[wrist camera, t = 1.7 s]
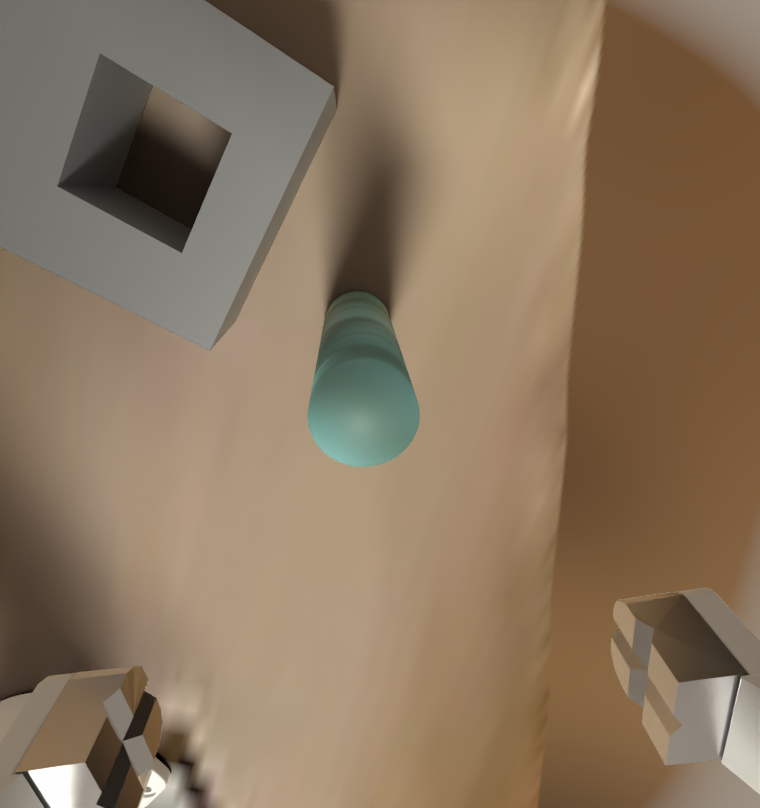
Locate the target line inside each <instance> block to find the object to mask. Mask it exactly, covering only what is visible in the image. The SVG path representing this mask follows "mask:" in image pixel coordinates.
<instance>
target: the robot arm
mask: <svg viewBox="0 0 760 808" xmlns="http://www.w3.org/2000/svg"><path fill="white" fill-rule="evenodd" d="M613 618H614V620H615V622H616V623H617V625H618V627H619V629H618V630H617V631H616V632H615V633H614V634H613V635H612V637H611V654H612V659H613V664H614V668H615V671H616V673H617V676H618V679H619V681H620V683H621V685H622V687H623V689H624V691H625V693H626V695H627V696H628V697H629V698H630V699H632V700H633V701H635V702H636V703H637V704H639V705H640V706H642V707H643V708H644V709H643V717H642V724H643V726H644V727H645V729H646V731H647V733H648V735H649V737H650V738H651V740H652V742H653V744H654V745H655V747H656V749H657V751H658V753H659V755H660V756H661V758H662V760H663V762H664V764H665V765H674V764H683V763H692V762H702V761H712V760H722V764H724V765H725V766H726V767H727V768H728V769H730V770H731V771H732V772H733V773H735V774H736V775H737V776H738V777H739V778H741V779H742V780H743V781H744V782H745V783H747V784H748V785H749V786H750V787H751V788H753V789H754V790H755V791H756V792H758V793H759V794H760V641H759V640H758V639H757V637H756V636H755V635H754V634H753V633H752V632H751V631H750V630H749V629H748V628H747V626H746V625H745V624H744V623H743V622H742V621H741V620H740V619H739V618H738V617H737V616H736V614H735V613H734V612H733V611H732V610H731V609H730V608H729V607H728V606H727V605H726V604H725V603H724V602H723V600H722V599H721V598H720V597H719V596H718V595H717V594H716V593H715V592H714V591H712V590H710V589H708V588H700V589H692V590H685V591H679V592H675V593H674V592H669V593H663V594H656V595H649V596H642V597H635V598H629V599H622V600H617V602H616V603H615V605H614V611H613ZM147 682H148V678H147V676H146V674H145V672H144V670H143V668H142V666H130V667H121V668H112V669H102V670H93V671H84V672H77V673H69V674H60V675H52V676H48V677H46V678H45V679H44V680H42V681H41V682H40V683H39V684H38V685H37V686H36V688H35V689H34V691H33V692H32V693H27V694H22V695H17V696H14V697H10V698H8V699H5V700H3V701H0V808H145V807H146V806H147V805H148V804H149V803H150V802H151V801H152V800H153V799H154V798H156V797H157V796H158V795H159V794H160V793H161V792H162V791H163V790H164V789H165V788H166V785H167V783H168V781H169V778H170V776H171V773H170V771H169V769H168V768H167V767H166V766H165V765H164V764H163V763H162V762H161V761H159V760H158V759H157V758H156V757H155V756H156V753H157V750H158V747H159V744H160V738H161V729H162V716H161V708H160V706H159V703H158V701H157V698H155V697H154V696H152V695H151V694H149V693H147V692H146V691H144V690H145V687H146V685H147Z"/></svg>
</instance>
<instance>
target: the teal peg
mask: <svg viewBox="0 0 760 808" xmlns="http://www.w3.org/2000/svg"><path fill="white" fill-rule="evenodd" d="M419 418H420V414H419V405H418V401H417V398H416V395H415V392H414V389H413V386H412V383H411V380H410V377H409V374H408V371H407V368H406V365H405V362H404V359H403V356H402V353H401V350H400V347H399V344H398V341H397V338H396V335H395V332H394V329H393V326H392V323H391V320H390V317H389V314H388V311H387V309H386V307H385V306H384V304H383V303H382V302H381V301H380V300H379V299H378V298H377V297H375V296H374V295H372V294H370V293H367V292H363V291H351V292H347V293H344V294H342V295H340V296H339V297H337V298H336V299H335V300H334V301H333V302H332V303H331V304H330V306H329V308H328V310H327V312H326V315H325V320H324V326H323V331H322V337H321V342H320V348H319V353H318V359H317V364H316V370H315V375H314V381H313V386H312V392H311V397H310V403H309V409H308V425H309V429H310V432H311V435H312V437H313V439H314V441H315V442H316V444H317V445H318V446H319V448H320V449H321V450H322V451H323V452H324V453H325V454H327V455H328V456H329V457H331V458H333V459H334V460H336V461H338V462H341V463H343V464H347V465H350V466H357V467H368V466H375V465H379V464H383V463H385V462H388V461H390V460H392V459H393V458H395V457H397V456H398V455H399V454H401V453H402V452H403V451H404V450H405V449H406V448H407V447H408V446H409V444H410V443H411V442H412V440H413V438H414V436H415V434H416V432H417V429H418V425H419Z"/></svg>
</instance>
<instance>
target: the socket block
mask: <svg viewBox="0 0 760 808" xmlns="http://www.w3.org/2000/svg"><path fill="white" fill-rule="evenodd" d="M152 86H155V87H156V88H158V89H159V90H161V91H163V92H164V93H166V94H168V95H169V96H171V97H173V98H174V99H176V100H178V101H179V102H181V103H182V104H184V105H186V106H187V107H189V108H191V109H192V110H194V111H196V112H197V113H199V114H200V115H202V116H204V117H205V118H207V119H209V120H210V121H212V122H214V123H215V124H217V125H218V126H220V127H222V128H223V129H225V130H227V131H228V132H230V133H232V135H231V137H230V140H229V142H228V144H227V147H226V149H225V151H224V154H223V156H222V159H221V161H220V163H219V166H218V168H217V170H216V173H215V175H214V178H213V180H212V182H211V185H210V187H209V190H208V192H207V194H206V197H205V199H204V201H203V204H202V206H201V209H200V211H199V213H198V216H197V218H196V221H195V223H194V225H193V228H192V229H191V228H189V227H187V226H185V225H183V224H182V223H180V222H178V221H176V220H174V219H173V218H171V217H169V216H167V215H165V214H163V213H162V212H160V211H158V210H156V209H154V208H153V207H151V206H149V205H147V204H145V203H143V202H142V201H140V200H138V199H136V198H134V197H133V196H131V195H129V194H127V193H125V192H124V191H122V190H120V189H118V188H116V186H117V183H118V181H119V178H120V175H121V172H122V170H123V167H124V164H125V161H126V158H127V156H128V153H129V150H130V147H131V145H132V142H133V139H134V136H135V133H136V131H137V128H138V125H139V122H140V119H141V117H142V114H143V111H144V108H145V106H146V103H147V100H148V97H149V94H150V92H151V89H152ZM336 109H337V106H336V99H335V91H334V86H332V85H331V84H329V83H328V82H326V81H325V80H323V79H322V78H320V77H319V76H317V75H316V74H314V73H313V72H311V71H310V70H308V69H307V68H305V67H304V66H302V65H301V64H299V63H298V62H296V61H295V60H293V59H292V58H290V57H289V56H287V55H286V54H284V53H283V52H281V51H280V50H278V49H277V48H275V47H274V46H272V45H271V44H269V43H268V42H266V41H265V40H263V39H262V38H260V37H259V36H258V35H256V34H255V33H253V32H252V31H250V30H249V29H247V28H246V27H244V26H243V25H241V24H240V23H238V22H237V21H235V20H234V19H232V18H231V17H229V16H228V15H226V14H225V13H223V12H222V11H220V10H219V9H217V8H216V7H214V6H213V5H211V4H210V3H208V2H207V1H205V0H0V247H1V248H3V249H5V250H7V251H9V252H11V253H13V254H15V255H17V256H19V257H21V258H23V259H25V260H27V261H29V262H31V263H33V264H35V265H37V266H39V267H41V268H43V269H45V270H47V271H49V272H51V273H53V274H55V275H57V276H59V277H61V278H63V279H65V280H68V281H70V282H72V283H74V284H76V285H78V286H80V287H82V288H84V289H86V290H88V291H90V292H92V293H94V294H96V295H98V296H100V297H102V298H104V299H106V300H108V301H110V302H112V303H114V304H116V305H118V306H120V307H122V308H124V309H126V310H128V311H130V312H132V313H134V314H136V315H138V316H140V317H142V318H144V319H146V320H148V321H150V322H152V323H155V324H157V325H159V326H161V327H163V328H165V329H167V330H169V331H171V332H173V333H175V334H177V335H179V336H181V337H183V338H185V339H187V340H189V341H191V342H193V343H195V344H197V345H199V346H201V347H203V348H205V349H207V350H209V351H210V350H211V349H212V348H213V347H214V345H215V344H216V343H217V342H218V341H219V340H220V338H221V337H222V336H223V335H224V334H225V333H226V332H227V330H228V329H229V328H230V327H231V326H232V325H233V324H234V322H235V321H236V319H237V316H238V314H239V312H240V310H241V308H242V306H243V304H244V302H245V300H246V298H247V296H248V293H249V291H250V289H251V287H252V285H253V283H254V281H255V279H256V277H257V275H258V273H259V270H260V268H261V266H262V264H263V262H264V260H265V258H266V256H267V254H268V252H269V249H270V247H271V245H272V243H273V241H274V239H275V237H276V235H277V233H278V231H279V229H280V226H281V224H282V222H283V220H284V218H285V216H286V214H287V212H288V210H289V208H290V206H291V203H292V201H293V199H294V197H295V195H296V193H297V191H298V189H299V187H300V185H301V183H302V180H303V178H304V176H305V174H306V172H307V170H308V168H309V166H310V164H311V162H312V160H313V157H314V155H315V153H316V151H317V149H318V147H319V145H320V143H321V141H322V139H323V137H324V134H325V132H326V130H327V128H328V126H329V124H330V122H331V120H332V118H333V116H334V114H335V111H336Z"/></svg>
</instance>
